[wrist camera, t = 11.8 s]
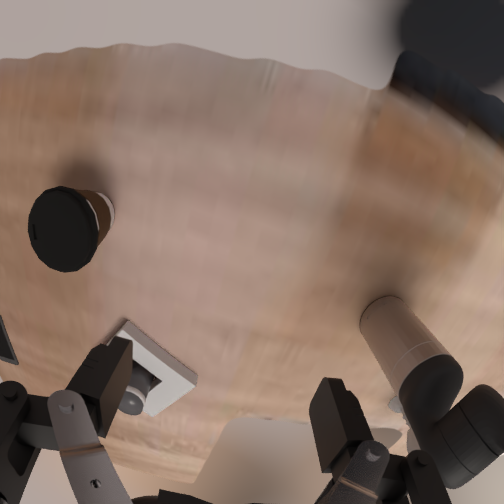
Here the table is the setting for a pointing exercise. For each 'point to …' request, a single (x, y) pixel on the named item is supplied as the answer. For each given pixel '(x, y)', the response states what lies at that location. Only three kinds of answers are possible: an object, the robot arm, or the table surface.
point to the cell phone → (6, 346)
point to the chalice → (411, 438)
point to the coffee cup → (69, 226)
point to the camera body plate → (158, 370)
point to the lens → (136, 390)
